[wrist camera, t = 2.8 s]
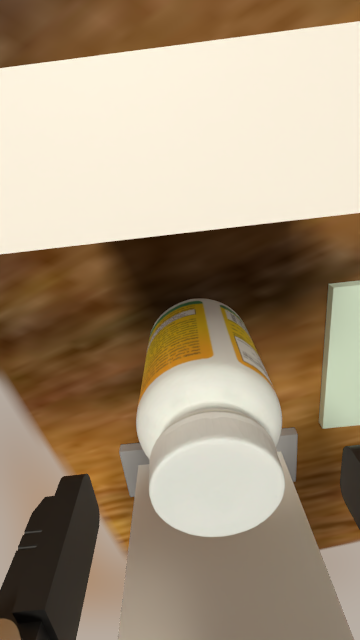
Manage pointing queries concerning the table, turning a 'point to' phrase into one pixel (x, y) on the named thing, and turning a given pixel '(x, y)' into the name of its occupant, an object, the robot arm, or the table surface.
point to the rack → (182, 217)
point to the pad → (341, 357)
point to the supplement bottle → (209, 422)
